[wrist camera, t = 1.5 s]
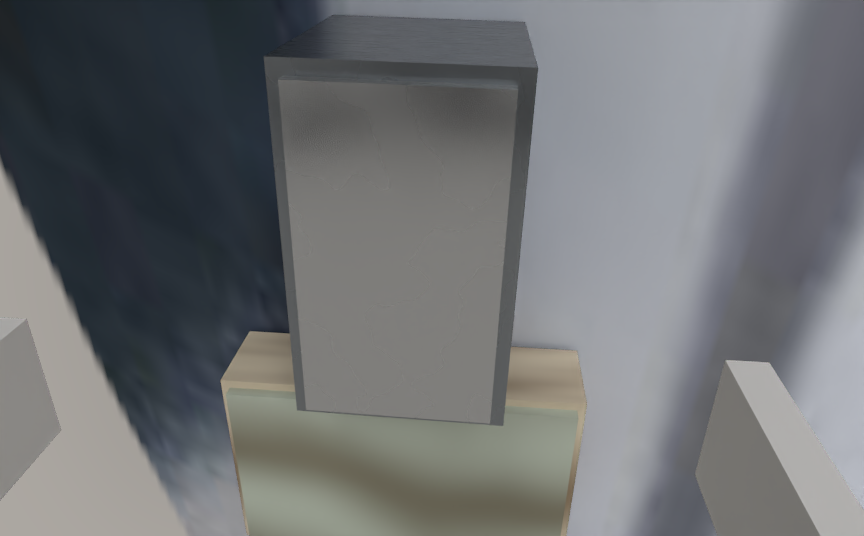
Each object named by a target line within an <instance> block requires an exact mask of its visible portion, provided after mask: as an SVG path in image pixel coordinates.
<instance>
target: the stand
mask: <svg viewBox="0 0 864 536" xmlns="http://www.w3.org/2000/svg"><path fill="white" fill-rule="evenodd" d="M220 381H221V386H222V392H223V398H224V404H225V410H226V416H227V421H228V427H229V433H230V439H231V445H232V451H233V457H234V462H235V468H236V474H237V480H238V486H239V492H240V498H241V503H242V509H243V515H244V521H245V527H246V533H247V535H249V536H566V533H567V527H568V521H569V515H570V508H571V502H572V496H573V489H574V483H575V477H576V470H577V464H578V458H579V452H580V445H581V439H582V433H583V426H584V420H585V414H586V407H587V402H586V396H585V391H584V386H583V380H582V375H581V370H580V364H579V359H578V354H577V351H573V350H557V349H540V348H523V347H511V351H510V361H509V372H508V382H507V392H506V403H505V413H504V423H503V426H495V425H482V424H469V423H456V422H442V421H429V420H416V419H403V418H390V417H376V416H363V415H350V414H337V413H324V412H310V411H297V406H296V395H295V384H294V374H293V363H292V352H291V342H290V334H289V333H272V332H255V331H249V333H248V335H247V337H246V338H245V340H244V342H243V343H242V345H241V347H240V348H239V350H238V352H237V353H236V355H235V357H234V358H233V360H232V362H231V363H230V365H229V367H228V369H227V370H226V372H225V374H224V375H223V377H222V379H221V380H220Z"/></svg>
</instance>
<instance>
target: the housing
mask: <svg viewBox="0 0 864 536" xmlns="http://www.w3.org/2000/svg"><path fill="white" fill-rule="evenodd" d="M264 64H265V75H266V86H267V96H268V107H269V118H270V128H271V139H272V150H273V160H274V171H275V182H276V192H277V203H278V214H279V224H280V235H281V246H282V256H283V267H284V278H285V288H286V299H287V310H288V320H289V331H290V342H291V352H292V363H293V374H294V384H295V395H296V406H297V411H310V412H324V413H337V414H350V415H363V416H376V417H390V418H403V419H416V420H429V421H442V422H456V423H469V424H482V425H495V426H503V423H504V413H505V403H506V392H507V382H508V372H509V361H510V351H511V341H512V330H513V320H514V310H515V300H516V289H517V279H518V269H519V258H520V248H521V238H522V227H523V217H524V207H525V196H526V186H527V176H528V165H529V155H530V145H531V134H532V124H533V114H534V104H535V93H536V83H537V73H538V66H537V62H536V59H535V55H534V52H533V48H532V45H531V41H530V38H529V34H528V31H527V27H526V24H525V22H509V21H482V20H455V19H427V18H400V17H373V16H345V15H332V16H330V17H329V18H327V19H325V20H324V21H322V22H320V23H319V24H317V25H315V26H314V27H312V28H310V29H309V30H307V31H305V32H304V33H302V34H300V35H299V36H297V37H295V38H294V39H292V40H290V41H289V42H287V43H285V44H284V45H282V46H280V47H279V48H277V49H275V50H274V51H272V52H270V53H269V54H267V55H265V56H264Z"/></svg>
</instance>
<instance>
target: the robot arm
mask: <svg viewBox="0 0 864 536" xmlns="http://www.w3.org/2000/svg"><path fill="white" fill-rule="evenodd" d="M60 431H61V428H60V424H59V421H58V418H57V415H56V412H55V408H54V405H53V402H52V399H51V396H50V393H49V389H48V386H47V383H46V379H45V376H44V373H43V370H42V367H41V363H40V360H39V357H38V354H37V350H36V347H35V344H34V341H33V338H32V334H31V331H30V328H29V325H28V321H27V319H22V318H5V317H0V500H1V499H2V498H3V497H4V495H5V494H6V493H7V492H8V491H9V490H10V489H11V487H12V486H13V485H14V484H15V483H16V481H17V480H18V479H19V478H20V477H21V476H22V475H23V474H24V472H25V471H26V470H27V469H28V468H29V467H30V465H31V464H32V463H33V462H34V461H35V460H36V458H37V457H38V456H39V455H40V454H41V453H42V451H43V450H44V449H45V448H46V447H47V446H48V444H50V442H51V441H52V440H53V439H54V438H55V437H56V435H57V434H58V433H59V432H60ZM695 476H696V479H697V482H698V484H699V487H700V490H701V492H702V495H703V498H704V500H705V503H706V506H707V509H708V511H709V514H710V517H711V519H712V522H713V525H714V527H715V530H716V533H717V536H864V510H863V508H862V507H861V505H860V504H859V502H858V501H857V499H856V497H855V496H854V494H853V493H852V491H851V490H850V488H849V487H848V485H847V483H846V482H845V480H844V479H843V477H842V476H841V474H840V472H839V471H838V469H837V468H836V466H835V465H834V463H833V462H832V460H831V458H830V457H829V455H828V454H827V452H826V451H825V449H824V447H823V446H822V444H821V443H820V441H819V440H818V438H817V437H816V435H815V433H814V432H813V430H812V429H811V427H810V426H809V424H808V422H807V421H806V419H805V418H804V416H803V415H802V413H801V412H800V410H799V408H798V407H797V405H796V404H795V402H794V401H793V399H792V397H791V396H790V394H789V393H788V391H787V390H786V388H785V387H784V385H783V383H782V382H781V380H780V379H779V377H778V376H777V374H776V372H775V371H774V369H773V368H772V366H771V365H770V363H767V362H750V361H733V360H725V363H724V367H723V371H722V374H721V378H720V382H719V386H718V389H717V393H716V397H715V401H714V405H713V408H712V412H711V416H710V420H709V423H708V427H707V431H706V435H705V439H704V442H703V446H702V450H701V454H700V458H699V461H698V465H697V469H696V473H695Z"/></svg>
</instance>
